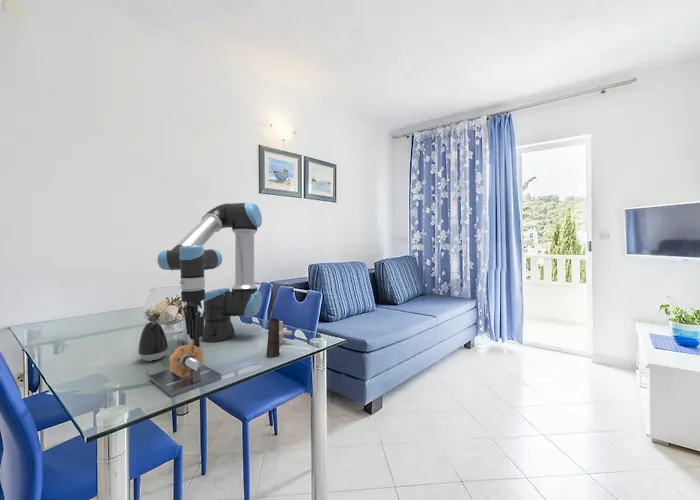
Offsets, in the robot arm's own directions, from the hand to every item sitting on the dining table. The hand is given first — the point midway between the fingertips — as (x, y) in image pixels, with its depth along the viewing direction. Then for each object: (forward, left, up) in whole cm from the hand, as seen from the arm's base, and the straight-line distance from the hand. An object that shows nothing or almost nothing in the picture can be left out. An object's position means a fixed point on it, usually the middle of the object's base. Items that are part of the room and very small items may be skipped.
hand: (195, 355), depth 113 cm
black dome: (-28, -4, -7) cm, 29 cm away
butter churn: (+8, +28, -7) cm, 30 cm away
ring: (+3, -4, -5) cm, 7 cm away
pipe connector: (-2, +39, -7) cm, 39 cm away
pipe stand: (+1, -4, -7) cm, 8 cm away
